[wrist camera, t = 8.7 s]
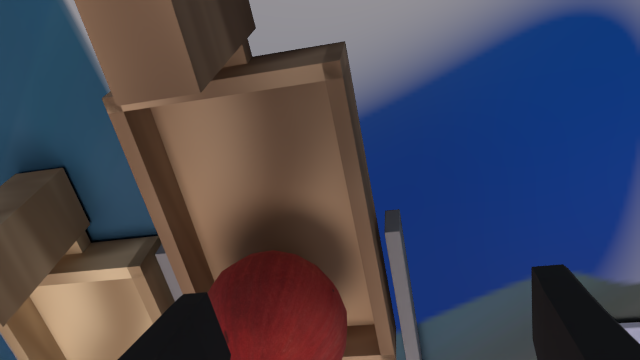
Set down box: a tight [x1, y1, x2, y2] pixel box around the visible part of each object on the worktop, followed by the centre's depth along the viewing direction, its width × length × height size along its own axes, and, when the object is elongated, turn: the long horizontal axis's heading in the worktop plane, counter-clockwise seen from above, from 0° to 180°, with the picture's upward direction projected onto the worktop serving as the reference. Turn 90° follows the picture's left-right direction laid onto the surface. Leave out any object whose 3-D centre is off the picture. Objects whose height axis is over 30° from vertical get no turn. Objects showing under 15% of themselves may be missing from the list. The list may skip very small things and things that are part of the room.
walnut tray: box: [74, 0, 396, 360], centre depth 20 cm, size 9×18×6 cm, turn 11°
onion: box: [208, 250, 347, 360], centre depth 21 cm, size 6×6×8 cm
